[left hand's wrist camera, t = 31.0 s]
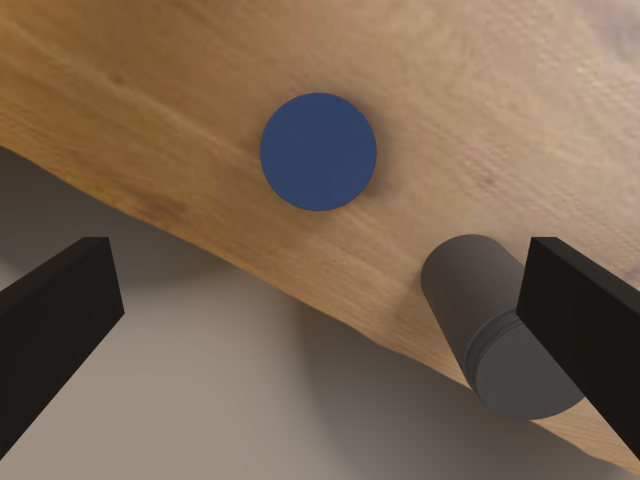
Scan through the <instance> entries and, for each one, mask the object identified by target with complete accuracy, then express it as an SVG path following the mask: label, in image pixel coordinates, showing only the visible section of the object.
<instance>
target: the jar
mask: <svg viewBox="0 0 640 480" xmlns="http://www.w3.org/2000/svg"><path fill="white" fill-rule="evenodd" d="M524 270H525V267H524V266H523V265H522V264H521V263H520V262H519V261H518V260H516V259H515V258H514V257H513V256H512V255H511V254H510V253H509V252H508V251H506V250H505V249H504V248H503V247H502V246H501V245H500V244H498V243H497V242H496V241H494V240H492V239H491V238H488V237H485V236H481V235H462V236H458V237H455V238H452V239H450V240H448V241H446V242H444V243H442V244H441V245H440V246H438V247H437V248H436V249H435V250H434V251H433V252H432V253H431V254H430V256H429V257H428V258H427V260H426V262H425V264H424V266H423V269H422V274H421V286H422V290H423V293H424V295H425V297H426V299H427V301H428V303H429V305H430V307H431V309H432V311H433V313H434V315H435V317H436V319H437V321H438V324H439V326H440V328H441V330H442V332H443V334H444V336H445V338H446V340H447V342H448V344H449V346H450V348H451V350H452V352H453V354H454V356H455V358H456V360H457V362H458V364H459V366H460V368H461V370H462V372H463V374H464V376H465V378H466V380H467V382H468V384H469V386H470V387H471V388H472V389H473V391H474V392H476V394H477V395H478V396H479V398H480V399H481V401H482V402H483V403H485V404H486V406H488V407H489V408H490V409H491V410H493V411H494V412H496V413H497V414H500V415H502V416H505V417H508V418H512V419H517V420H536V419H542V418H547V417H550V416H554V415H556V414H559V413H561V412H563V411H565V410H567V409H569V408H571V407H572V406H574V405H575V404H577V403H578V402H579V401H581V400H582V399H583V398H584V397H585V395H584V394H583V393H582V392H581V391H580V389H579V388H578V387H577V386H576V385H575V384H574V382H573V381H572V380H571V379H570V378H569V376H568V375H567V374H566V373H565V372H564V371H563V369H562V368H561V367H560V366H559V365H558V363H557V362H556V361H555V360H554V359H553V358H552V356H551V355H550V354H549V353H548V352H547V350H546V349H545V348H544V347H543V346H542V345H541V343H540V342H539V341H538V340H537V339H536V337H535V336H534V335H533V334H532V333H531V331H530V330H529V329H528V328H527V327H526V326H525V324H524V323H523V322H522V321H521V320H520V318H519V317H518V316H517V315H516V314H515V312H516V308H517V303H518V298H519V294H520V289H521V284H522V280H523V275H524Z"/></svg>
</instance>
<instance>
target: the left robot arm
mask: <svg viewBox="0 0 640 480" xmlns="http://www.w3.org/2000/svg"><path fill="white" fill-rule="evenodd" d="M124 314H125V313H124V308H123V303H122V298H121V294H120V289H119V284H118V280H117V275H116V270H115V265H114V261H113V256H112V251H111V247H110V242H109V238H108V237H83V238H82V239H80V240H79V241H77V242H75V243H74V244H72V245H71V246H69V247H68V248H66V249H65V250H63V251H62V252H60V253H59V254H57V255H56V256H54V257H52V258H51V259H49V260H48V261H46V262H45V263H43V264H42V265H40V266H39V267H37V268H36V269H34V270H33V271H31V272H30V273H28V274H27V275H25V276H24V277H22V278H20V279H19V280H17V281H16V282H14V283H13V284H11V285H10V286H8V287H7V288H5V289H4V290H2V291H1V292H0V460H1V459H2V458H3V457H4V456H5V454H6V453H7V452H8V451H9V450H10V449H11V447H12V446H13V445H14V444H15V443H16V441H17V440H18V439H19V438H20V437H21V436H22V434H23V433H24V432H25V431H26V430H27V428H28V427H29V426H30V425H31V424H32V422H33V421H34V420H35V419H36V418H37V417H38V415H39V414H40V413H41V412H42V411H43V410H44V408H45V407H46V406H47V405H48V404H49V402H50V401H51V400H52V399H53V398H54V397H55V395H56V394H57V393H58V392H59V391H60V389H61V388H62V387H63V386H64V385H65V384H66V382H67V381H68V380H69V379H70V378H71V376H72V375H73V374H74V373H75V372H76V371H77V369H78V368H79V367H80V366H81V365H82V363H83V362H84V361H85V360H86V359H87V358H88V356H89V355H90V354H91V353H92V352H93V350H94V349H95V348H96V347H97V346H98V344H99V343H100V342H101V341H102V340H103V339H104V337H105V336H106V335H107V334H108V333H109V331H110V330H111V329H112V328H113V327H114V326H115V324H116V323H117V322H118V321H119V320H120V318H121V317H122V316H123V315H124ZM515 314H516V315H517V316H518V317H519V318H520V320H521V321H522V322H523V323H524V324H525V326H526V327H527V328H528V329H529V330H530V331H531V333H532V334H533V335H534V336H535V337H536V339H537V340H538V341H539V342H540V343H541V345H542V346H543V347H544V348H545V349H546V350H547V352H548V353H549V354H550V355H551V356H552V358H553V359H554V360H555V361H556V362H557V363H558V365H559V366H560V367H561V368H562V369H563V371H564V372H565V373H566V374H567V375H568V376H569V378H570V379H571V380H572V381H573V382H574V384H575V385H576V386H577V387H578V388H579V389H580V391H581V392H582V393H583V394H584V395H585V397H586V398H587V399H588V400H589V401H590V402H591V404H592V405H593V406H594V407H595V408H596V410H597V411H598V412H599V413H600V414H601V415H602V417H603V418H604V419H605V420H606V421H607V423H608V424H609V425H610V426H611V427H612V428H613V430H614V431H615V432H616V433H617V434H618V436H619V437H620V438H621V439H622V440H623V441H624V443H625V444H626V445H627V446H628V447H629V449H630V450H631V451H632V452H633V453H634V454H635V456H636V457H637V458H638V459H639V460H640V292H639V291H638V290H636V289H635V288H633V287H632V286H630V285H629V284H627V283H626V282H624V281H623V280H621V279H620V278H618V277H617V276H615V275H613V274H612V273H610V272H609V271H607V270H606V269H604V268H603V267H601V266H600V265H598V264H597V263H595V262H594V261H592V260H591V259H589V258H588V257H586V256H584V255H583V254H581V253H580V252H578V251H577V250H575V249H574V248H572V247H571V246H569V245H568V244H566V243H565V242H563V241H562V240H560V239H558V238H557V237H531V242H530V247H529V251H528V256H527V261H526V265H525V270H524V275H523V280H522V284H521V289H520V294H519V298H518V303H517V308H516V312H515Z"/></svg>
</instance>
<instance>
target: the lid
mask: <svg viewBox="0 0 640 480" xmlns="http://www.w3.org/2000/svg"><path fill="white" fill-rule="evenodd" d="M260 159H261V165H262V169H263V172H264V174H265V177H266V179H267V181H268V182H269V184H270V186H271V187H272V188H273V190H274V191H275V192H276V193H277V194H278V195H279V196H280V197H281V198H283V199H284V200H285V201H287V202H289V203H290V204H292V205H294V206H296V207H299V208H302V209H306V210H312V211H324V210H330V209H335V208H338V207H340V206H342V205H345V204H347V203H348V202H350V201H351V200H353V199H354V198H355V197H356V196H357V195H359V194H360V192H361V191H362V190H363V189H364V188H365V186H366V185H367V183H368V182H369V180H370V178H371V176H372V173H373V170H374V167H375V162H376V142H375V137H374V134H373V131H372V129H371V127H370V124H369V123H368V121H367V120H366V118H365V117H364V115H363V114H362V113H361V112H360V111H359V110H358V109H357V108H356V107H355V106H354V105H352V104H351V103H349V102H348V101H346V100H344V99H342V98H340V97H338V96H335V95H331V94H326V93H310V94H305V95H301V96H299V97H296V98H294V99H292V100H290V101H289V102H287V103H286V104H284V105H283V106H282V107H280V108H279V109H278V110H277V111H276V112H275V113H274V115H273V116H272V117H271V118H270V120H269V122H268V123H267V125H266V127H265V130H264V132H263V135H262V139H261V145H260Z"/></svg>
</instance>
